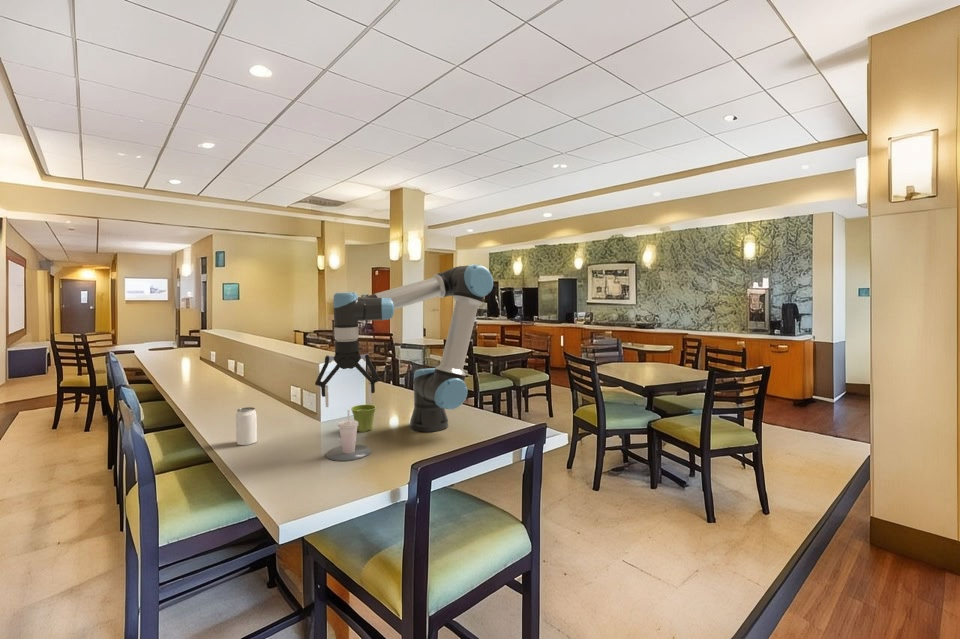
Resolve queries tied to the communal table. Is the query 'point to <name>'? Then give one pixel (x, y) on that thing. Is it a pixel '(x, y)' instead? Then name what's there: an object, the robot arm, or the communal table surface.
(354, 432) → the smoothie
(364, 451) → the disc
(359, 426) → the plant pot
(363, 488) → the communal table surface
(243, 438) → the can
